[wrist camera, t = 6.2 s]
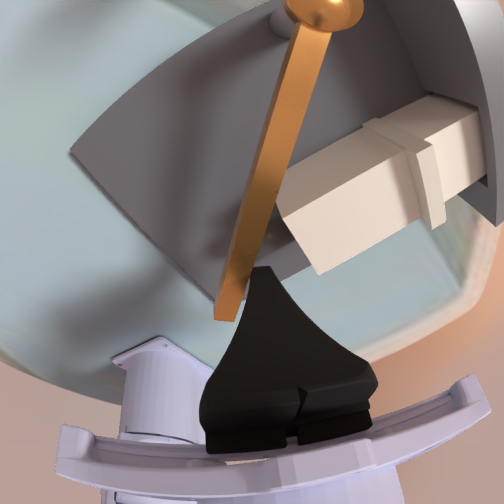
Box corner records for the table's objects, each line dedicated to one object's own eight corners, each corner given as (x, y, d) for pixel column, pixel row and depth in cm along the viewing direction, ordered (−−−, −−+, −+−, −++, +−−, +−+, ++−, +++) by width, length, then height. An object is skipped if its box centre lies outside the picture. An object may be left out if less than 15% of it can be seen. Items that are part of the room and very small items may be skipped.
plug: (464, 139, 14) (516, 170, 10) (259, 255, 18) (272, 318, 14) (451, 82, 12) (511, 101, 7) (220, 206, 16) (221, 264, 12)
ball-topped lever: (246, 309, 14) (248, 326, 13) (199, 304, 14) (199, 321, 13) (356, -7, 6) (370, -12, 5) (292, -32, 5) (300, -42, 4)
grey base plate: (479, 156, 16) (534, 193, 11) (225, 301, 22) (229, 372, 17) (414, -35, 7) (482, -48, 2) (75, 145, 13) (14, 191, 8)
